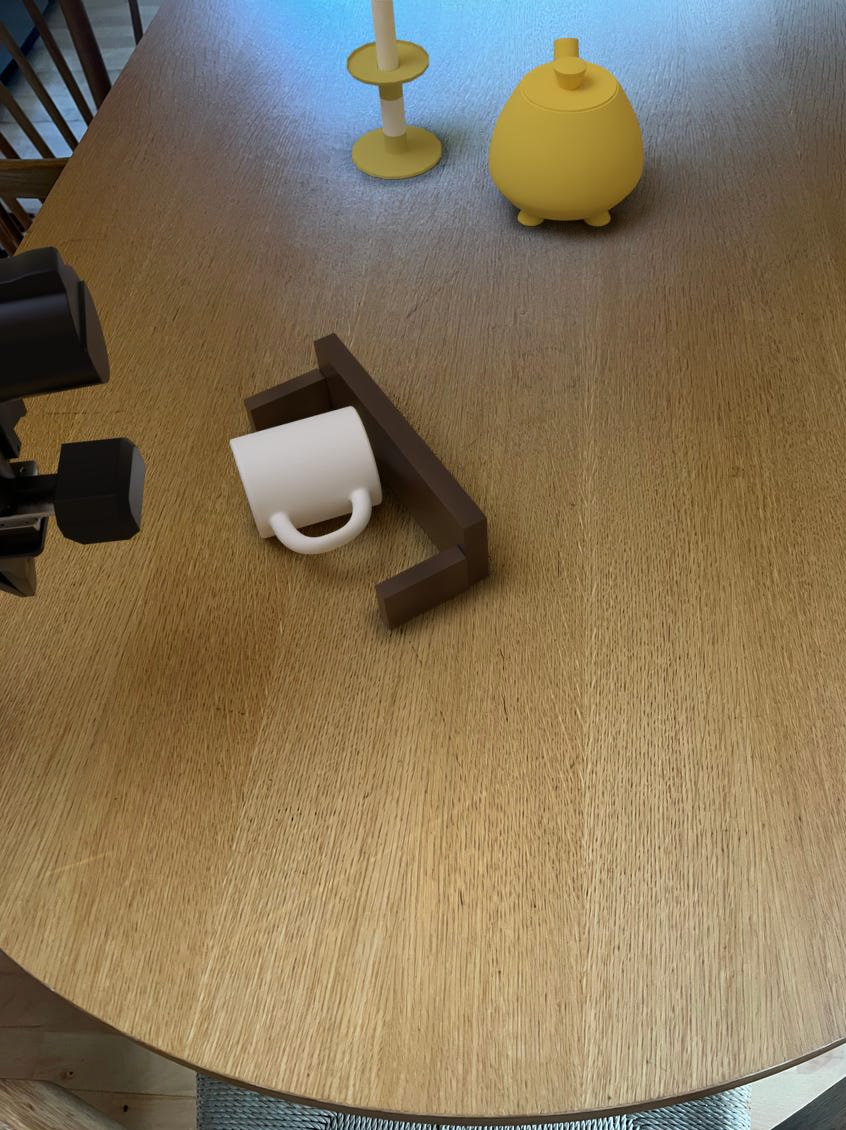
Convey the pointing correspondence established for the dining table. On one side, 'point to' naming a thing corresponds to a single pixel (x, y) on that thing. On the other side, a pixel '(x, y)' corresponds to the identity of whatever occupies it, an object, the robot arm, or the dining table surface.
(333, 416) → the mug
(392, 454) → the shelf
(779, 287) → the dining table surface
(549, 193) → the teapot
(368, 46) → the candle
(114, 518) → the robot arm
